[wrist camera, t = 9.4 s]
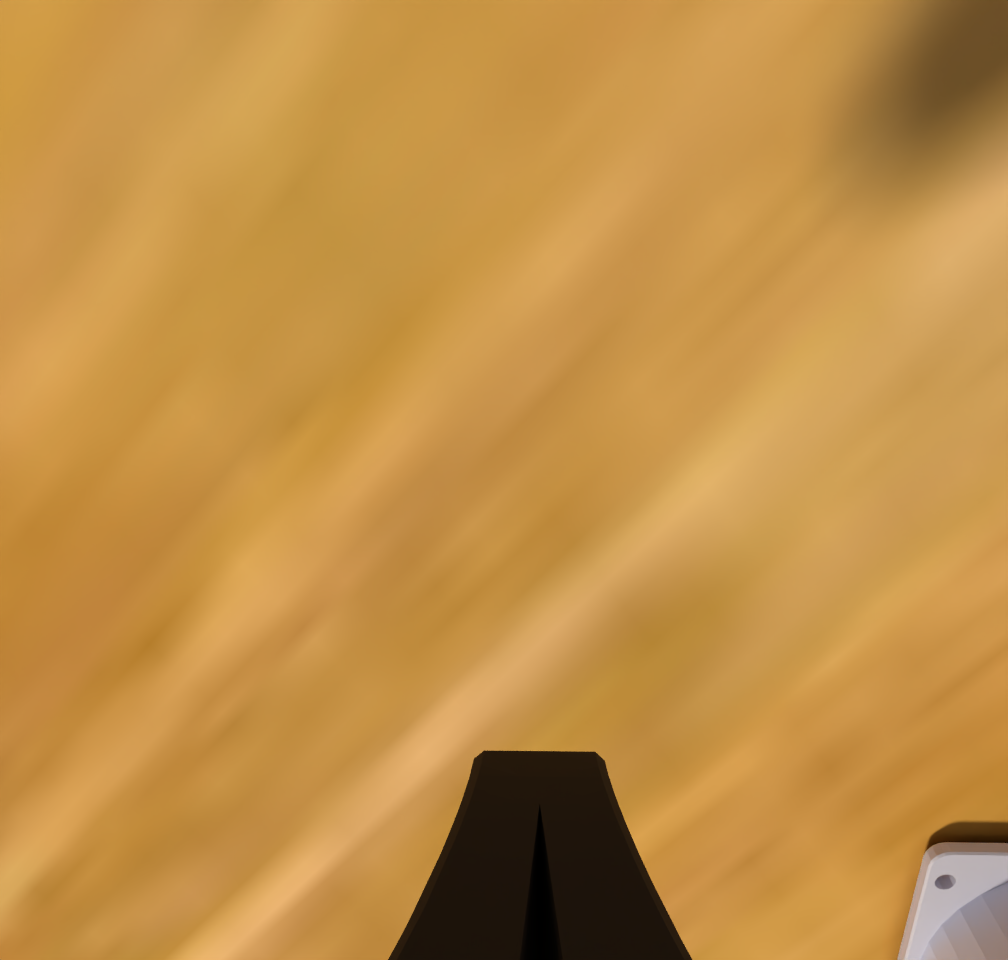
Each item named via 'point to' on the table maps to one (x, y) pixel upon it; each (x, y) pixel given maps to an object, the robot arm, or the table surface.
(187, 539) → the table surface
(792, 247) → the table surface
